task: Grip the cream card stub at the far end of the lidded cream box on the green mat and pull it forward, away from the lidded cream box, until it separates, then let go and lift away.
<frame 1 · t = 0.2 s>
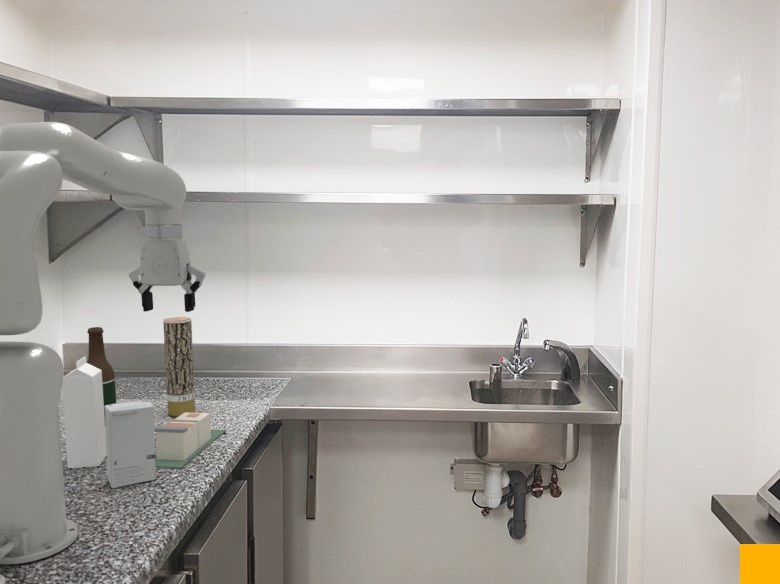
hand: (169, 310, 138), 30 cm above the countertop, tool pointing down, fingers open, 9 cm apart
skincare box: (132, 480, 121), on the countertop
milk: (87, 463, 130), on the countertop
lidded cream box: (178, 455, 133), resting on mat
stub: (192, 429, 139), point 3 cm above the countertop, slide at 0.0 cm
paper tube: (181, 414, 163), on the countertop
beer bottle: (101, 423, 156), on the countertop
mat: (188, 447, 138), on the countertop
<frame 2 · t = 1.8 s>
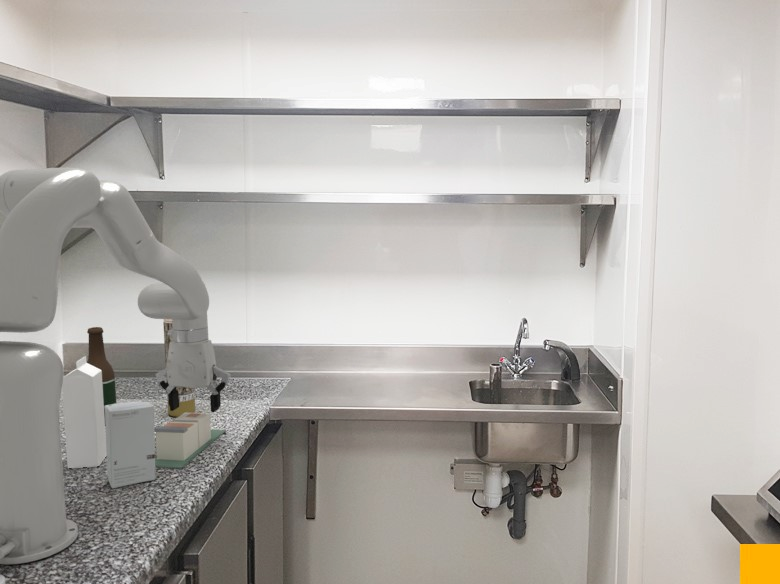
hand: (194, 409, 141), 7 cm above the countertop, tool pointing down, fingers open, 9 cm apart
nothing on the countertop moved.
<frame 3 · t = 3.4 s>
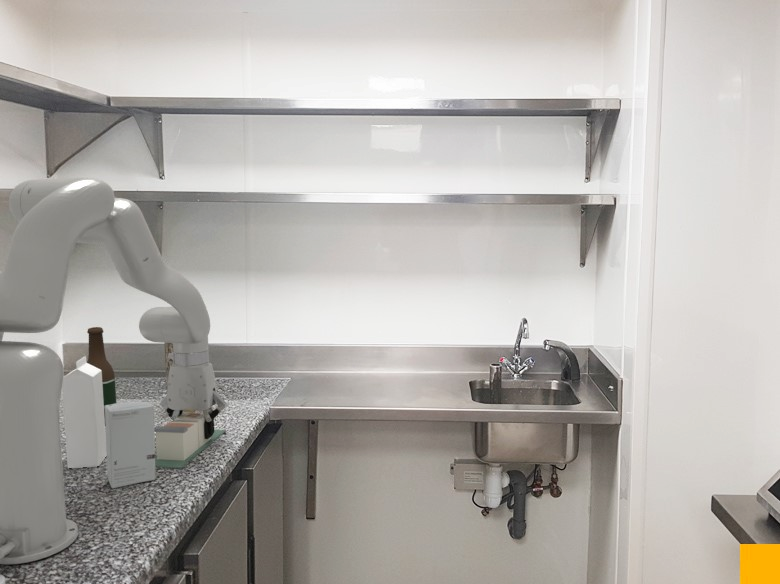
hand: (194, 435, 141), 1 cm above the countertop, tool pointing down, fingers closed on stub, 6 cm apart
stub: (192, 429, 139), point 3 cm above the countertop, slide at 0.0 cm, touching gripper
everything else where it was.
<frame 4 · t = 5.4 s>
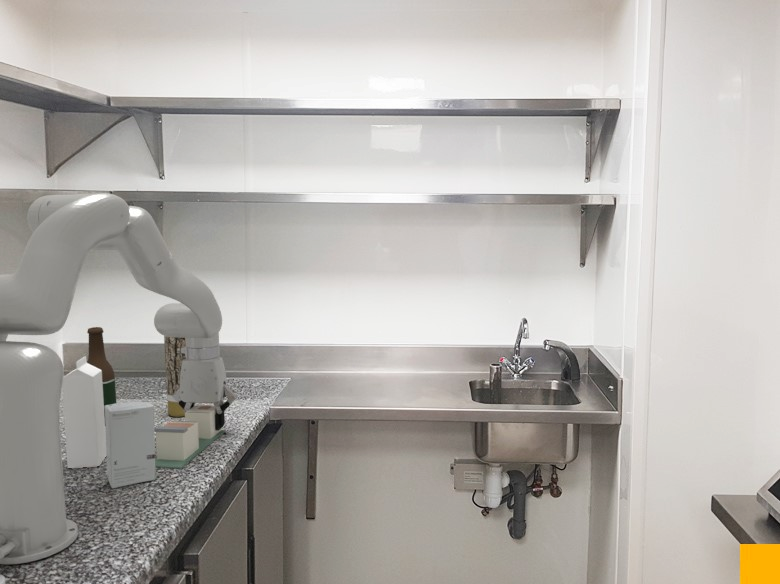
hand: (205, 427, 147), 1 cm above the countertop, tool pointing down, fingers closed on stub, 6 cm apart
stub: (203, 421, 145), point 3 cm above the countertop, slide at 5.9 cm, touching gripper
everything else where it was.
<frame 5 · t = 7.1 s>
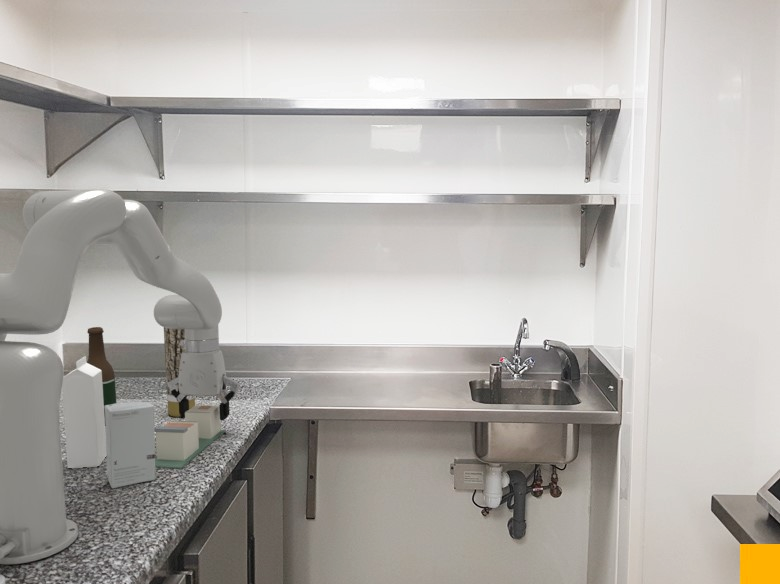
hand: (204, 417, 146), 4 cm above the countertop, tool pointing down, fingers open, 9 cm apart
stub: (203, 421, 145), point 3 cm above the countertop, slide at 6.0 cm
everything else where it was.
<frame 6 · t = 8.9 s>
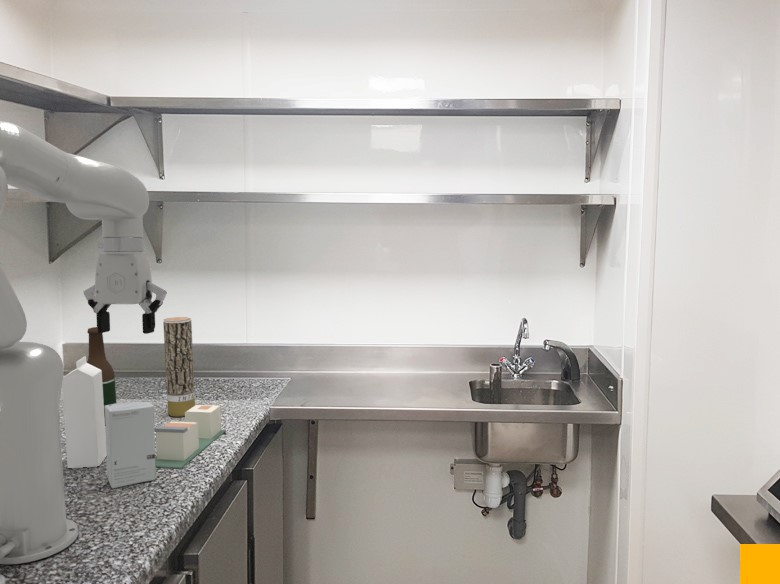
hand: (126, 332, 125), 28 cm above the countertop, tool pointing down, fingers open, 9 cm apart
nothing on the countertop moved.
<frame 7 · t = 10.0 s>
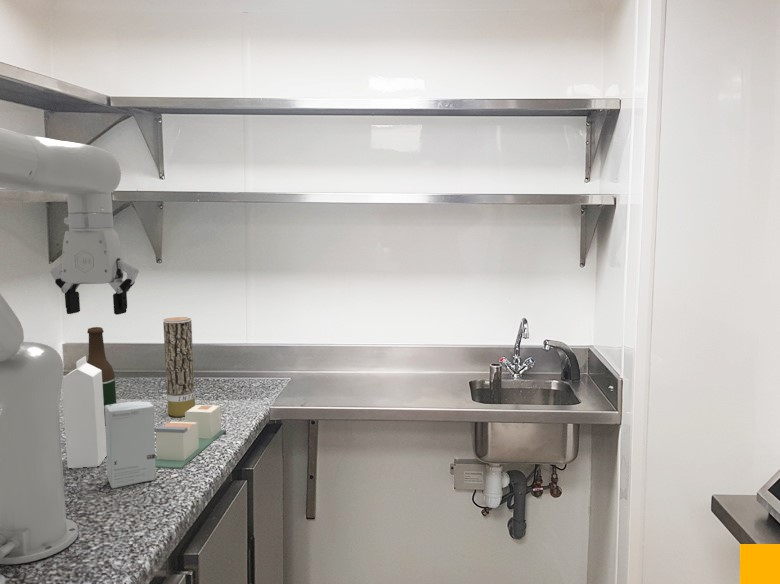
hand: (96, 313, 119), 32 cm above the countertop, tool pointing down, fingers open, 9 cm apart
nothing on the countertop moved.
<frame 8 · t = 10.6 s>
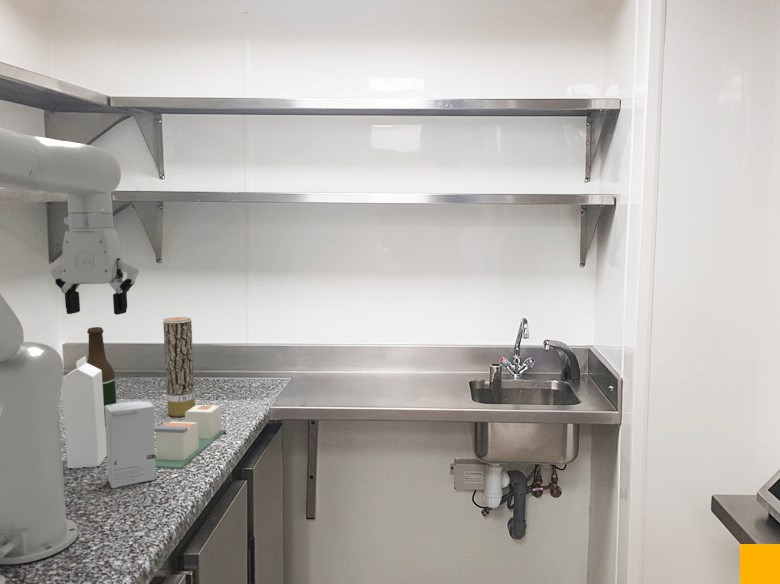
hand: (96, 313, 119), 32 cm above the countertop, tool pointing down, fingers open, 9 cm apart
nothing on the countertop moved.
at the end: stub slide at 6.0 cm; the gripper is holding nothing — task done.
